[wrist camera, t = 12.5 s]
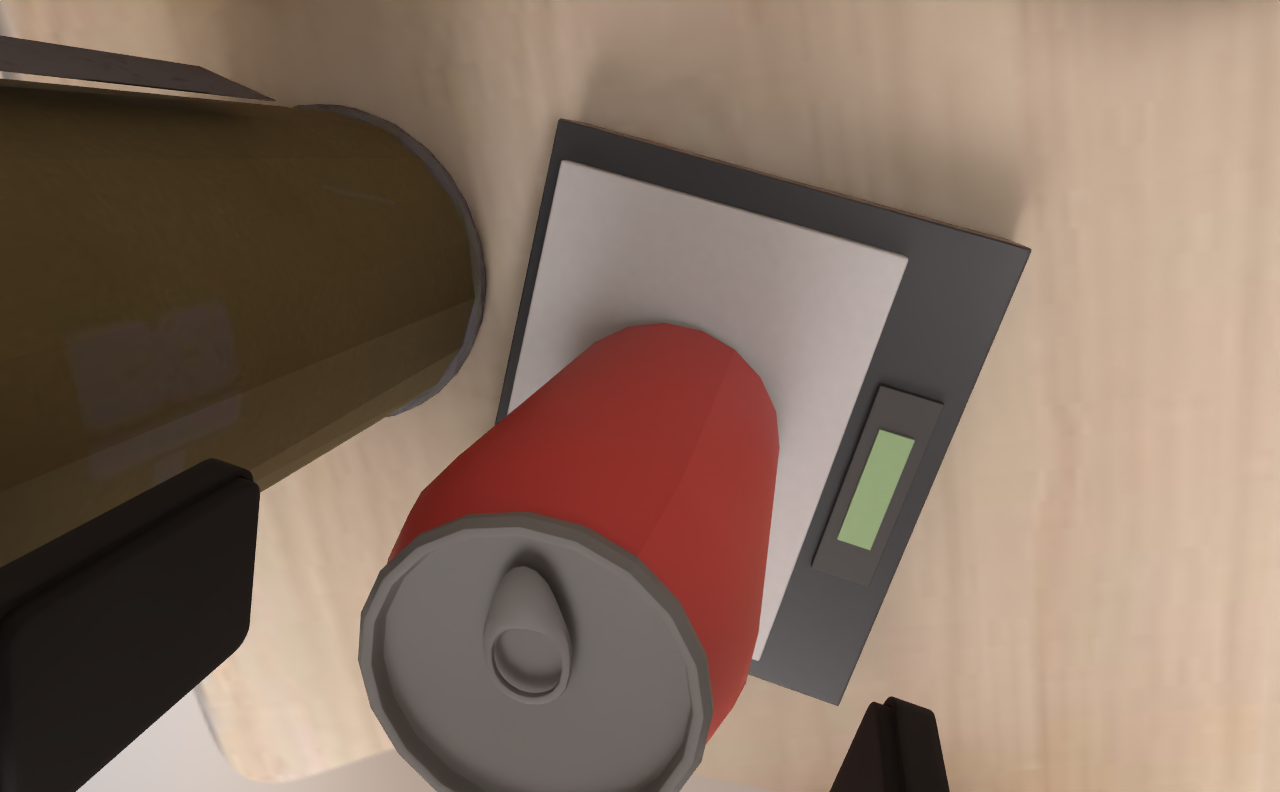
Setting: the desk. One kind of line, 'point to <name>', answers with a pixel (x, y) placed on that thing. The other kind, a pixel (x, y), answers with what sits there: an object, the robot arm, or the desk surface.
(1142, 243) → the desk surface
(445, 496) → the beer can
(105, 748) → the robot arm
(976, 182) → the desk surface
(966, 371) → the scale
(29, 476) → the canister
